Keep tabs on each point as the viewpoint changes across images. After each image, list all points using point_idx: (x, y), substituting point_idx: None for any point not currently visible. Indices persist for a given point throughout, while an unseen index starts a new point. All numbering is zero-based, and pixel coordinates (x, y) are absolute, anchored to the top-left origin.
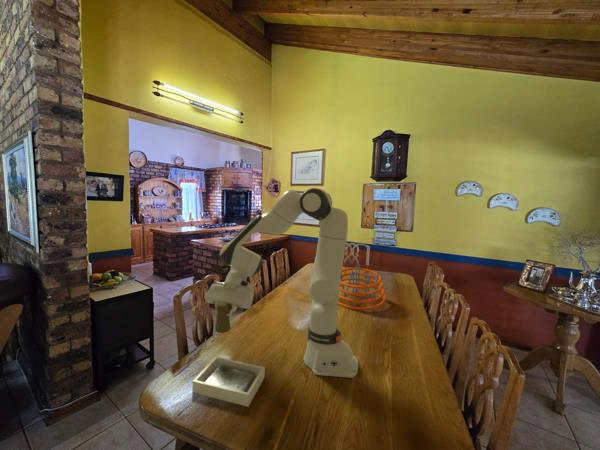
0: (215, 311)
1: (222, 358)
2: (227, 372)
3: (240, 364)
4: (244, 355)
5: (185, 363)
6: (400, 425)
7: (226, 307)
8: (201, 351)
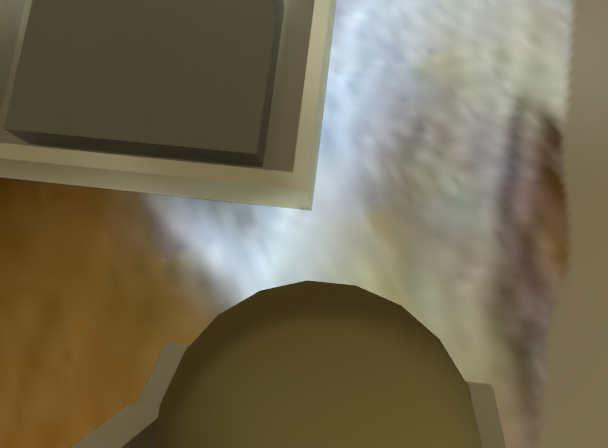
0: (477, 399)
1: (247, 178)
2: (179, 96)
3: (102, 155)
4: None
5: (536, 222)
6: None
7: (189, 350)
8: (507, 380)
